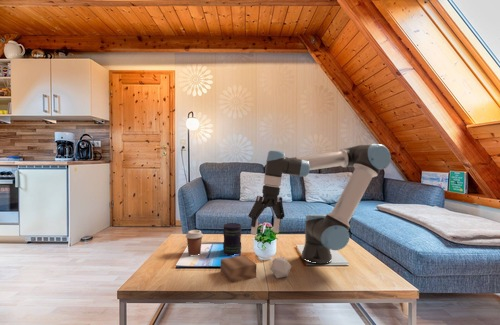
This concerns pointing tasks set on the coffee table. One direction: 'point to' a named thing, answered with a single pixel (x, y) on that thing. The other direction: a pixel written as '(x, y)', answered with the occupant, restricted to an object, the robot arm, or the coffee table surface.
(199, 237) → the coffee cup
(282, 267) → the die
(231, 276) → the walnut block
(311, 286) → the coffee table surface
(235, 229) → the storage jar
